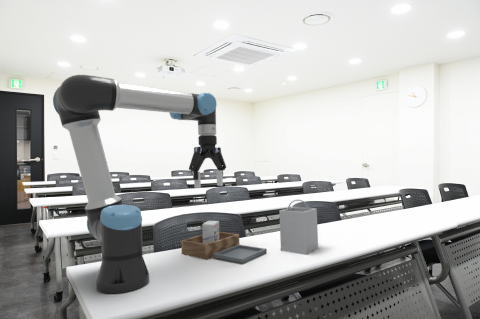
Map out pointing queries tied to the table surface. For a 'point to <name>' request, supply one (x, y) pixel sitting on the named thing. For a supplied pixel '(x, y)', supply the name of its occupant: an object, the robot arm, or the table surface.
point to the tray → (240, 254)
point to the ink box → (210, 231)
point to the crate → (208, 245)
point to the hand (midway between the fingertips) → (209, 186)
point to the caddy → (298, 230)
